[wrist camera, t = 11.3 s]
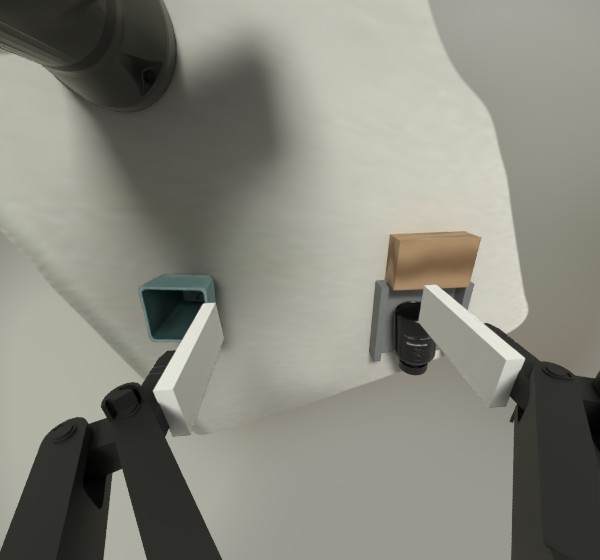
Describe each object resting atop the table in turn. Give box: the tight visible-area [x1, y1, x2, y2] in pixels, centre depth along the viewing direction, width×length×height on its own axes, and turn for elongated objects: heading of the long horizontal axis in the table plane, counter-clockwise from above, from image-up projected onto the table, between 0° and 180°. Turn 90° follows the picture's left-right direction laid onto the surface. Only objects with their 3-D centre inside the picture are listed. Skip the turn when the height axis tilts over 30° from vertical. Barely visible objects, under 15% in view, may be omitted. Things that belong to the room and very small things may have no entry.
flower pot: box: [138, 274, 216, 342], centre depth 39 cm, size 9×9×9 cm
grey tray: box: [369, 280, 474, 362], centre depth 46 cm, size 15×15×3 cm
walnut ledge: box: [385, 232, 481, 290], centre depth 41 cm, size 8×12×4 cm, turn 92°
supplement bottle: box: [393, 301, 436, 375], centre depth 44 cm, size 7×7×12 cm
